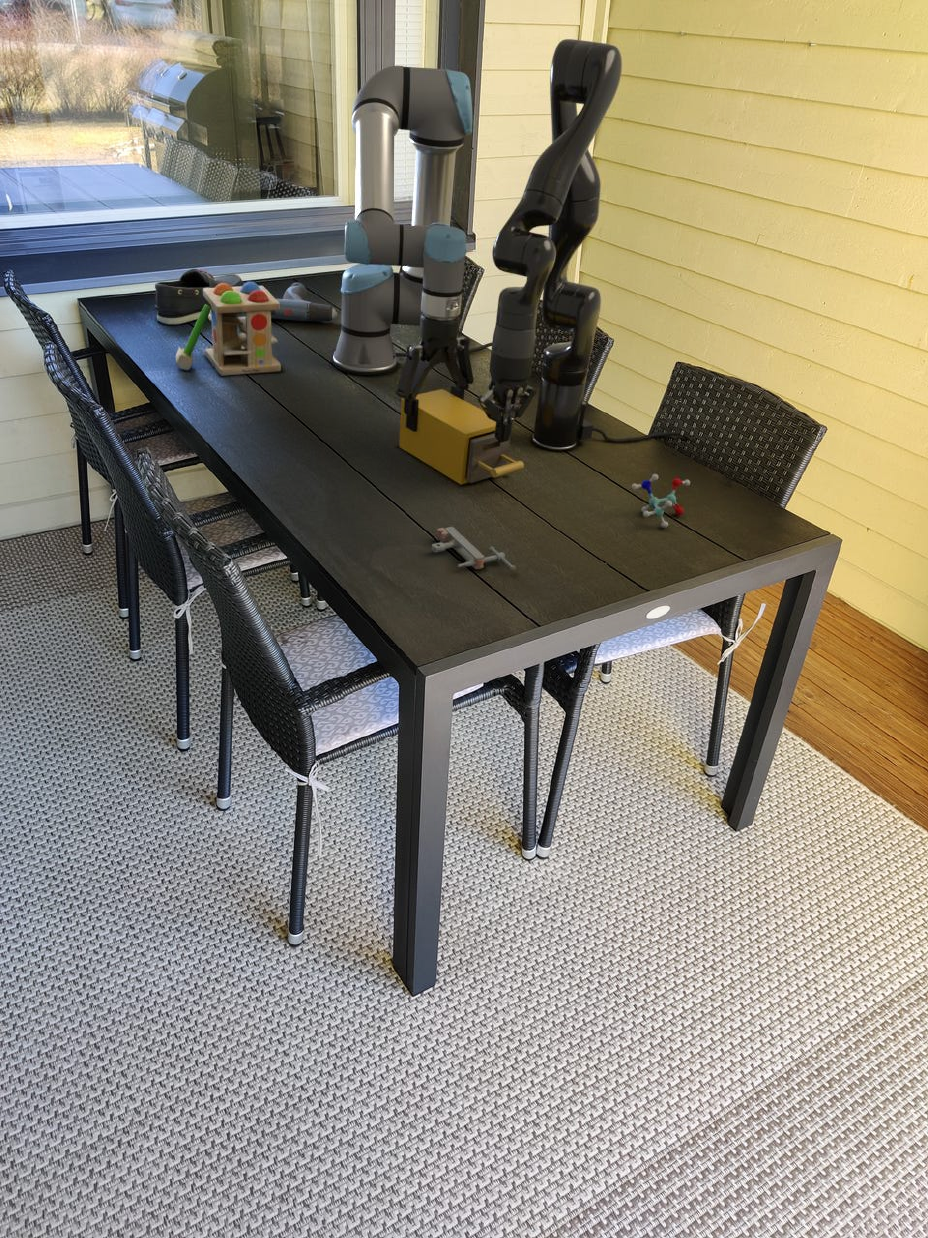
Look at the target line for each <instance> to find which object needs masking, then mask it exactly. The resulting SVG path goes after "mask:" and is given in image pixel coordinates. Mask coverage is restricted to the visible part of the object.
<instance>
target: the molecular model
mask: <svg viewBox="0 0 928 1238" xmlns="http://www.w3.org/2000/svg"><path fill="white" fill-rule="evenodd" d="M657 480H659V475H658V474H657V473H653V474H652V475H651V478H649V480H648V479H646V480H643V481H642V482H641V483H639V484H637V483H632V485H631V489H632V490H633V491H637V490H638V489H639V488H640V489H641V488H642V489H643V490H646V491H647V494H648V496H649V501H648V505H646V506H642V507H641V509H640V510H641V513H642V517H644V518H647V519H648V518H649V517H650V516H655V517H657V518H659V519H660V522H661V523H660V525H661V527H662V528H663V529H666V528H668V526H669V523H668V521H666V520H665V518H664V516H663V515H664V513H665V510H666V509H667V508H671V507H672V508H673V509H674V513H675V515H676V516H682V515H683V514H684V512H685V511H684V508H683V507H681V506H680V505H679V504H678V502H677V497H676V495H675V494H676V490H677V488H678V487H679V486H681V485H683V486H685V487H689V486H690V484H691V480H689V479H685V480H681V479H680V478H678V477H675V478H673V479H672V480H671V485H672V489H671V492H670V493H669V494H667V495H666V497H664V498H658V497H656V496H654V495H653V492H652V490H651V487H652V483H653V482H654V481H657ZM660 503H664V505H663V506H662V507H661V506H659V504H660ZM651 507H652V508H654V510H653V511H649V509H650V508H651Z"/></svg>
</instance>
